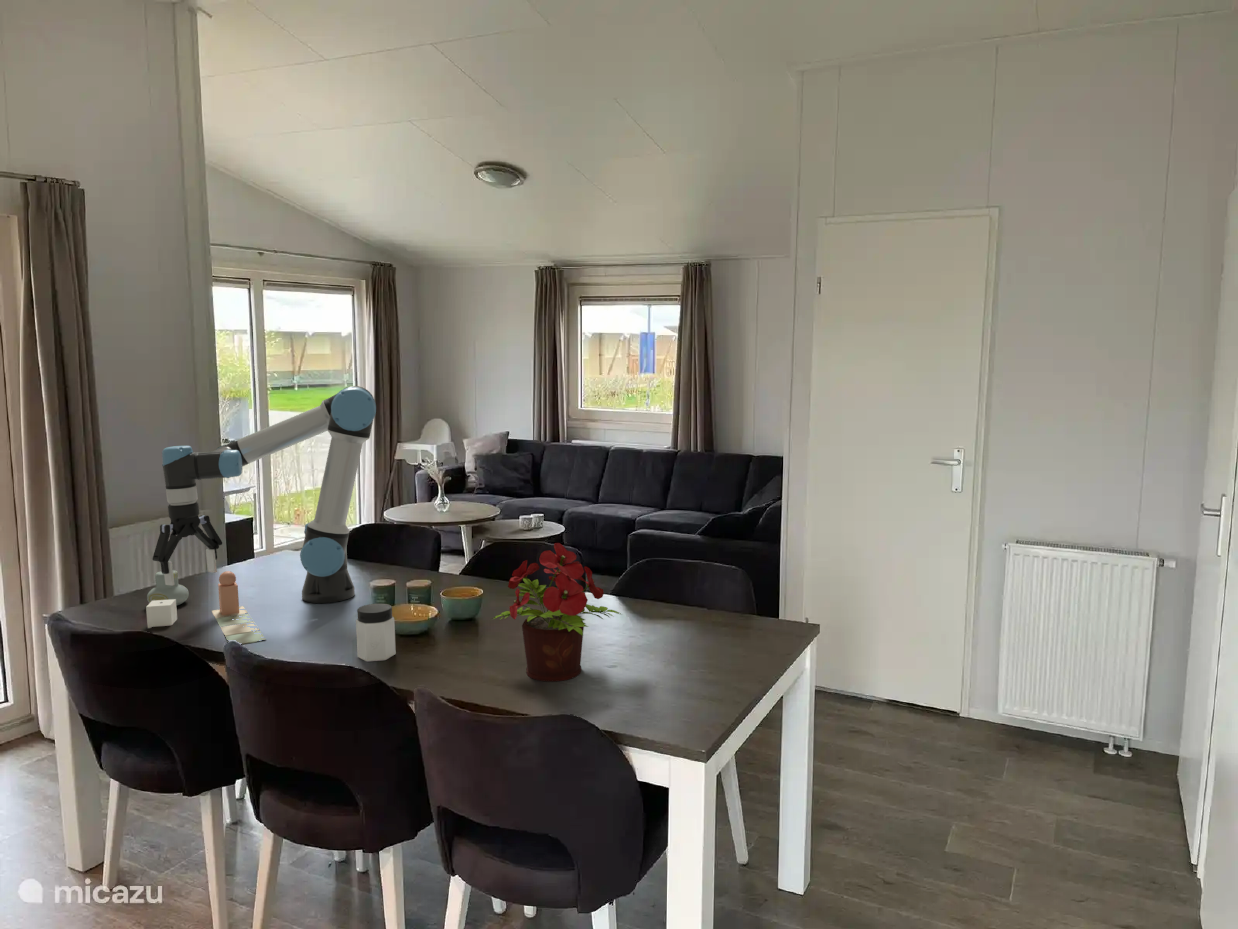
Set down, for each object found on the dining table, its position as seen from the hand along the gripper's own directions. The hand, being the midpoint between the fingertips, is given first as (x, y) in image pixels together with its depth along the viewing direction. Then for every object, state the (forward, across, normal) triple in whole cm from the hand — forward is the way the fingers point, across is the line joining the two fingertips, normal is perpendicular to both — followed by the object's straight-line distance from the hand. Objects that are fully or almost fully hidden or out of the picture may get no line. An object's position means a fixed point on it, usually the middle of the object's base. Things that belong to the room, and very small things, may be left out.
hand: (191, 578), depth 246 cm
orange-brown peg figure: (+12, -8, +4) cm, 15 cm away
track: (+12, -1, +15) cm, 19 cm away
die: (+11, +7, -5) cm, 14 cm away
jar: (+14, +2, +66) cm, 67 cm away
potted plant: (+16, -9, +111) cm, 113 cm away
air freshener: (+11, -6, -19) cm, 23 cm away
